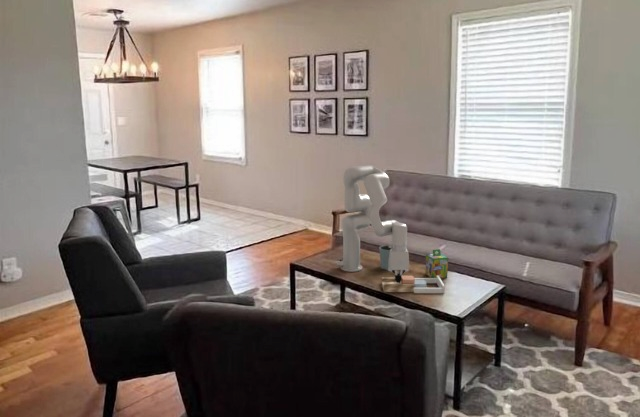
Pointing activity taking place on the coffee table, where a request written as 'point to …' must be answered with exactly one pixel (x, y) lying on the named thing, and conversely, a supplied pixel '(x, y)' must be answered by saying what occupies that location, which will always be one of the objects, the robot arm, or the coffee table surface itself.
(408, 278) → the tile
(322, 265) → the coffee table surface
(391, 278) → the wooden tray
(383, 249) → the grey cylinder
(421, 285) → the tile
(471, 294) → the coffee table surface
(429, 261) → the chalk box
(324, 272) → the coffee table surface
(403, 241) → the robot arm
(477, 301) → the coffee table surface
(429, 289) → the white u-shaped bracket
